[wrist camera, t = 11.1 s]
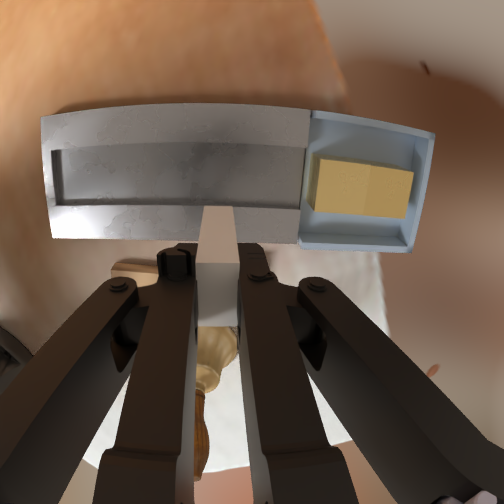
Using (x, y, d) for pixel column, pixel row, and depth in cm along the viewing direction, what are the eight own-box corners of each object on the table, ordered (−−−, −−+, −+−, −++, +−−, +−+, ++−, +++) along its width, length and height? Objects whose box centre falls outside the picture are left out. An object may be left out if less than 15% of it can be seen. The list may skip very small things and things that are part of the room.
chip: (349, 203, 26) (362, 215, 23) (356, 158, 24) (370, 165, 22) (389, 207, 26) (404, 219, 24) (396, 164, 25) (413, 172, 22)
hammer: (119, 290, 30) (114, 299, 28) (114, 246, 27) (108, 254, 26) (251, 300, 31) (252, 309, 29) (256, 256, 29) (257, 264, 27)
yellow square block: (305, 200, 26) (314, 211, 23) (310, 153, 24) (320, 159, 21) (349, 203, 26) (362, 215, 23) (356, 158, 24) (371, 165, 22)
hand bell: (212, 302, 30) (203, 448, 16) (251, 354, 34) (263, 485, 20) (147, 331, 32) (112, 462, 17) (190, 377, 35) (179, 498, 21)
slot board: (61, 230, 26) (52, 237, 24) (51, 115, 21) (40, 117, 20) (292, 235, 28) (296, 244, 26) (305, 109, 23) (310, 109, 21)
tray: (295, 235, 28) (301, 249, 25) (307, 109, 23) (316, 110, 21) (398, 240, 29) (411, 252, 26) (418, 129, 24) (435, 133, 21)
